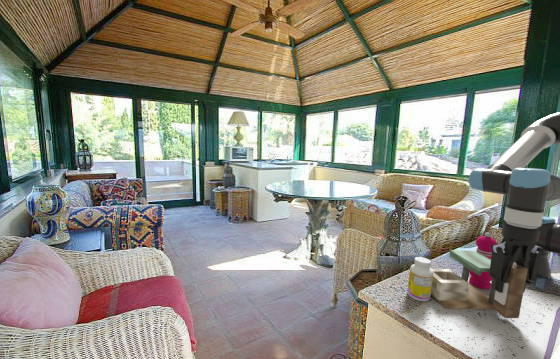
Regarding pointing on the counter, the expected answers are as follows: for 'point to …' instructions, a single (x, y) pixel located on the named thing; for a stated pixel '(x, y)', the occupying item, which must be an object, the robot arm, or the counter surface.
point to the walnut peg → (513, 293)
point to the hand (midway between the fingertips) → (507, 301)
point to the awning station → (462, 283)
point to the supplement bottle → (420, 279)
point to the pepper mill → (485, 250)
